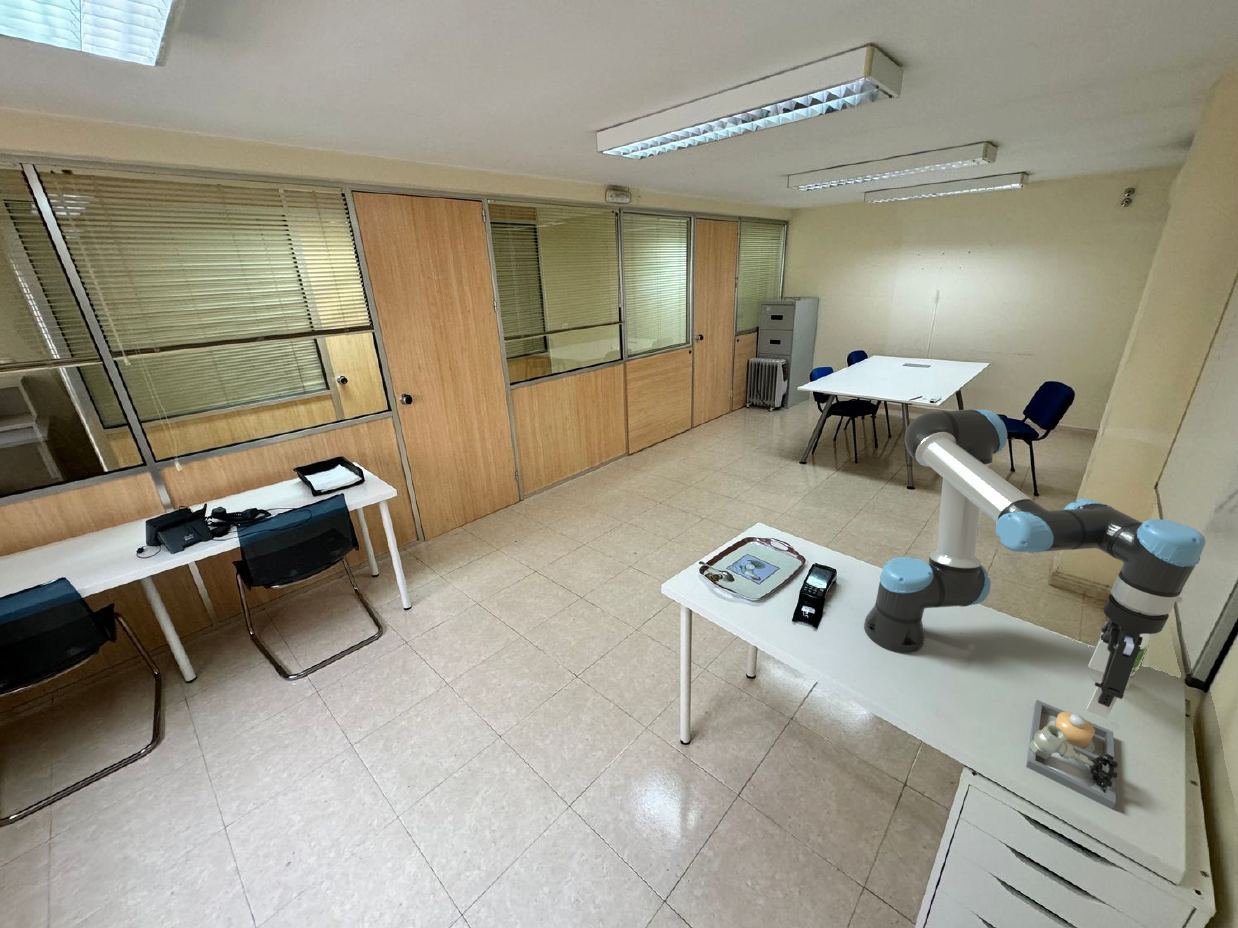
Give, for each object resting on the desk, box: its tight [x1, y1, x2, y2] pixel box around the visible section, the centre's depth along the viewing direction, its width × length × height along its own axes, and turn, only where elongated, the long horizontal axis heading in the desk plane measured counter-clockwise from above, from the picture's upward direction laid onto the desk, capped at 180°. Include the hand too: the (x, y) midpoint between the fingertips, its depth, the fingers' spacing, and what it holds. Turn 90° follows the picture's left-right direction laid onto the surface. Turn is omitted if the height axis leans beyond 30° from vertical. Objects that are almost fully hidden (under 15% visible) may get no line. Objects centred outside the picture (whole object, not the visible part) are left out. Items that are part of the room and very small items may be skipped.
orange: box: [1054, 711, 1095, 749], centre depth 105 cm, size 6×6×6 cm
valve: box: [1028, 723, 1119, 789], centre depth 98 cm, size 7×7×12 cm
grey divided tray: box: [1025, 699, 1117, 810], centre depth 103 cm, size 13×20×3 cm, turn 137°
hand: (1096, 690), depth 93 cm, fingers open, 13 cm apart
